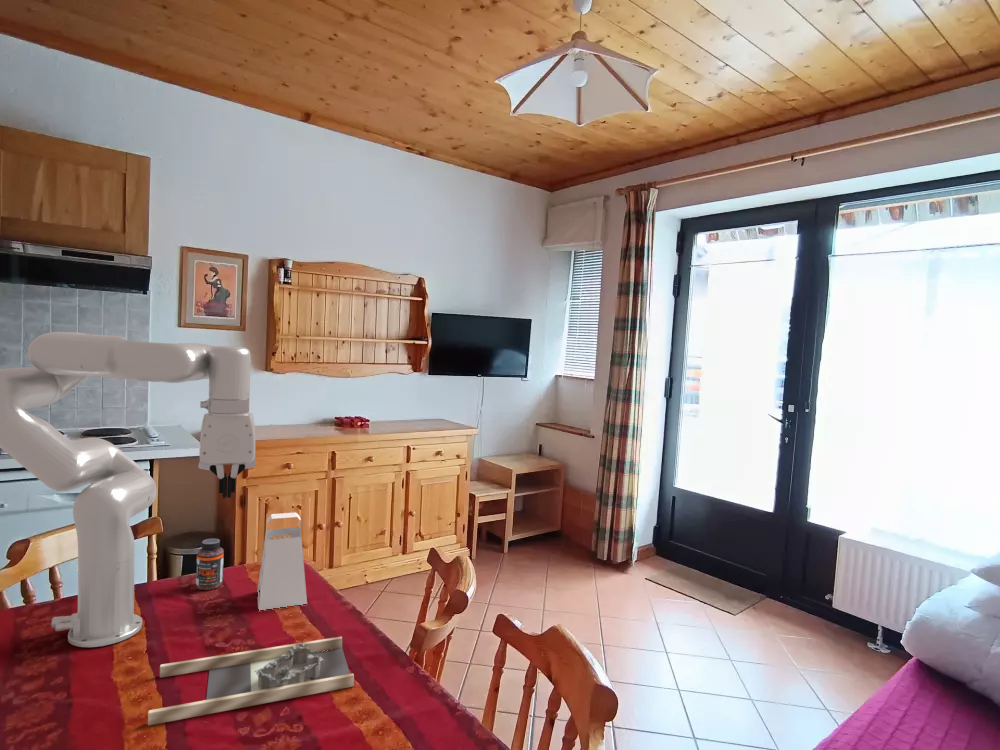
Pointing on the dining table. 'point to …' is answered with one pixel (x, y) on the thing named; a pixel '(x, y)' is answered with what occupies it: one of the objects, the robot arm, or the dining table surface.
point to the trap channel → (253, 679)
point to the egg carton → (289, 668)
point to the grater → (282, 568)
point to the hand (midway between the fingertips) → (226, 496)
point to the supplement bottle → (209, 565)
